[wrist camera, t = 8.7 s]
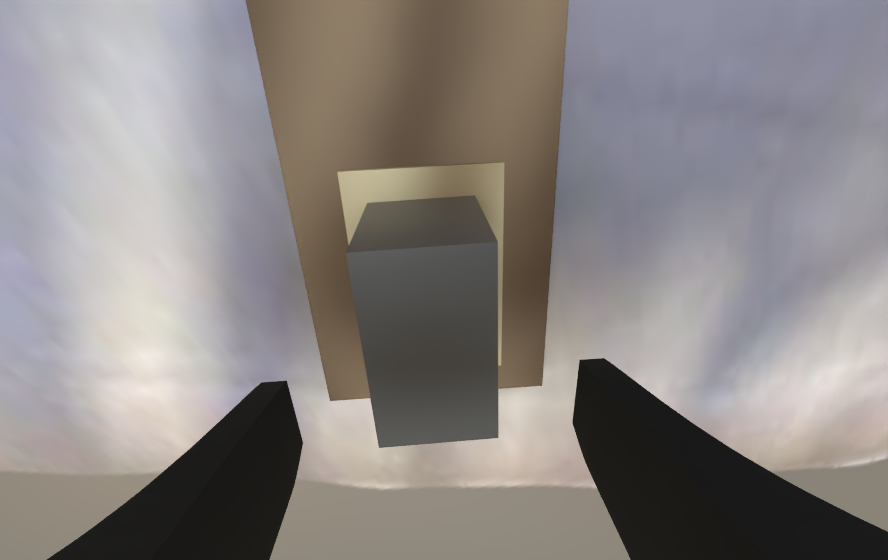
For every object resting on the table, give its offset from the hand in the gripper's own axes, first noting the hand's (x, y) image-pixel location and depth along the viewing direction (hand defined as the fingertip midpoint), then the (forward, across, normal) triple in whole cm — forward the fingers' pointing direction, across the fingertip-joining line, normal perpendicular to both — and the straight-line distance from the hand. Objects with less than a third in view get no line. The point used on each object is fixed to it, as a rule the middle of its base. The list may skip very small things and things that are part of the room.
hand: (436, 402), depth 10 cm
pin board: (+8, 0, -4) cm, 9 cm away
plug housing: (+7, 0, 0) cm, 7 cm away
